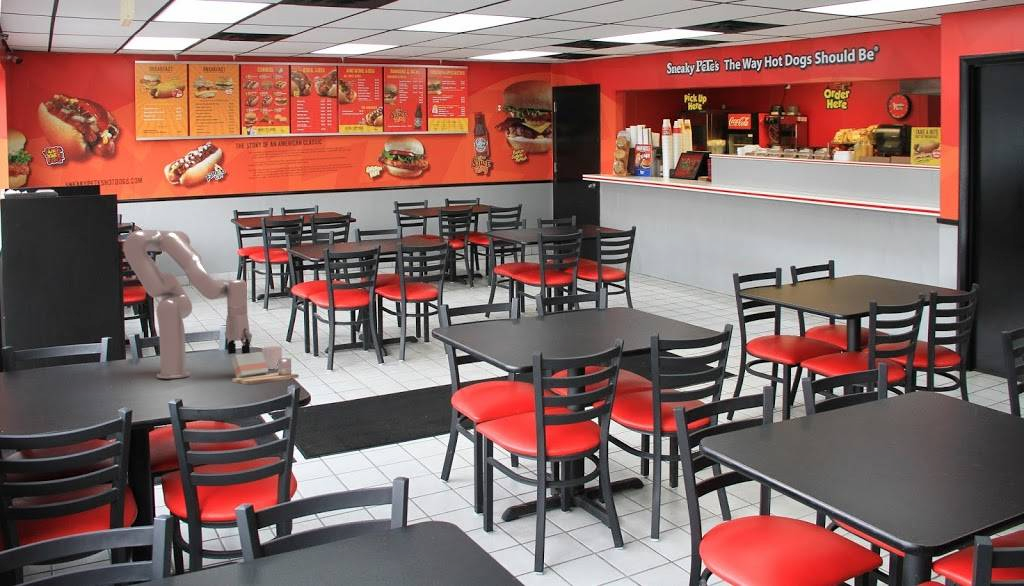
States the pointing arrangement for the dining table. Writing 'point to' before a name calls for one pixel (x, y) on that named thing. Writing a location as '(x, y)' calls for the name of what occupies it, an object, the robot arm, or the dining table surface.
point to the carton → (249, 364)
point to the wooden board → (263, 378)
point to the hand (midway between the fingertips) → (238, 354)
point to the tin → (284, 366)
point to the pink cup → (272, 356)
